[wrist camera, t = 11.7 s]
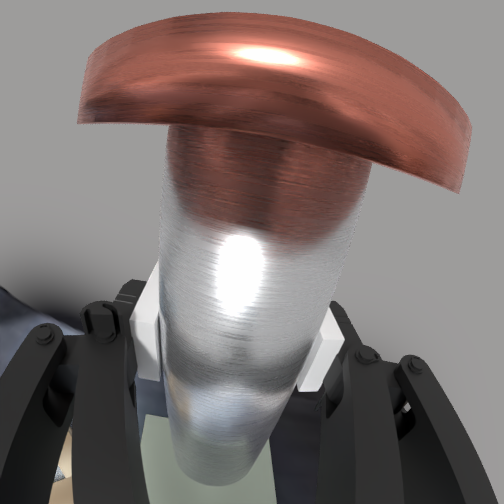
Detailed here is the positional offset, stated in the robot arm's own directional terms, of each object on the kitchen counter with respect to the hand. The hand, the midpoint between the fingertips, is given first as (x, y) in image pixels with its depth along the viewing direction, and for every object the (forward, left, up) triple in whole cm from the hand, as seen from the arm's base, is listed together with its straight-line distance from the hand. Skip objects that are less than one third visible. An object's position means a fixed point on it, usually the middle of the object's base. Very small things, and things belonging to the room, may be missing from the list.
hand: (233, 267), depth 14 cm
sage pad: (+3, -4, -19) cm, 19 cm away
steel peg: (+4, -4, -10) cm, 12 cm away
